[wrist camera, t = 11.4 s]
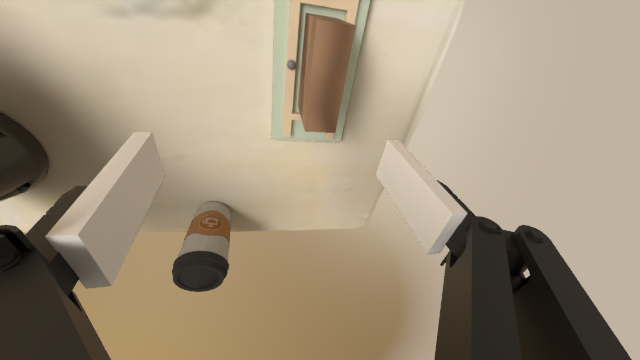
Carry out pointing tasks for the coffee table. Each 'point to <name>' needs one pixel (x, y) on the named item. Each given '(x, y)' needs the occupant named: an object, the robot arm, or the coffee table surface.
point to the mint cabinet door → (289, 24)
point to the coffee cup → (204, 249)
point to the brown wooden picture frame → (323, 71)
